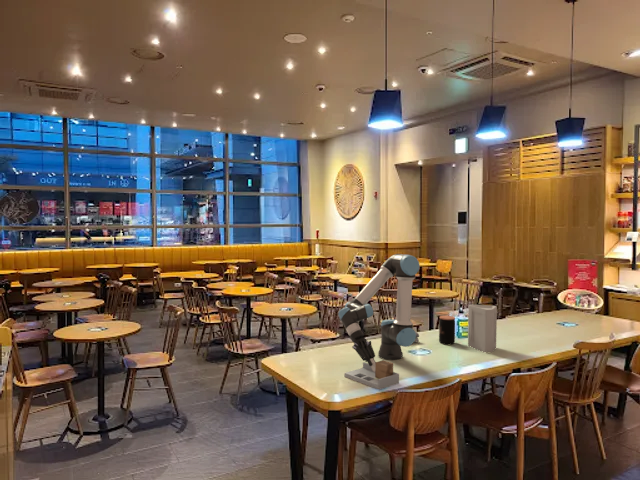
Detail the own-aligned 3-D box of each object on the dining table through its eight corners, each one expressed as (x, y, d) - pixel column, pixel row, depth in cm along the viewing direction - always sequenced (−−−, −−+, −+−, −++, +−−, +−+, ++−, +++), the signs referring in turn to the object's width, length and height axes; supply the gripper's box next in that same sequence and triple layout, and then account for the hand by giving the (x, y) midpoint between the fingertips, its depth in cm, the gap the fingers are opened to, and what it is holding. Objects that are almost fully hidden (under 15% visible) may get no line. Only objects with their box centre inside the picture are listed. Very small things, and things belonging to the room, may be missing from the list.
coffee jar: (438, 340, 330) (438, 315, 329) (453, 341, 328) (453, 315, 328) (439, 344, 319) (440, 318, 319) (455, 345, 318) (456, 319, 317)
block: (382, 374, 248) (382, 360, 248) (392, 378, 243) (393, 363, 243) (375, 377, 244) (375, 362, 244) (385, 380, 239) (386, 365, 239)
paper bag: (504, 351, 303) (505, 308, 302) (485, 353, 298) (486, 309, 297) (485, 344, 321) (486, 303, 320) (467, 345, 316) (468, 304, 315)
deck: (363, 371, 261) (363, 362, 261) (398, 383, 241) (399, 373, 241) (344, 376, 252) (344, 367, 252) (379, 389, 232) (379, 379, 232)
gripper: (360, 335, 265) (381, 371, 253) (343, 338, 256) (363, 376, 244) (367, 327, 261) (388, 364, 248) (350, 330, 252) (371, 369, 240)
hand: (376, 370), depth 246 cm, fingers closed
